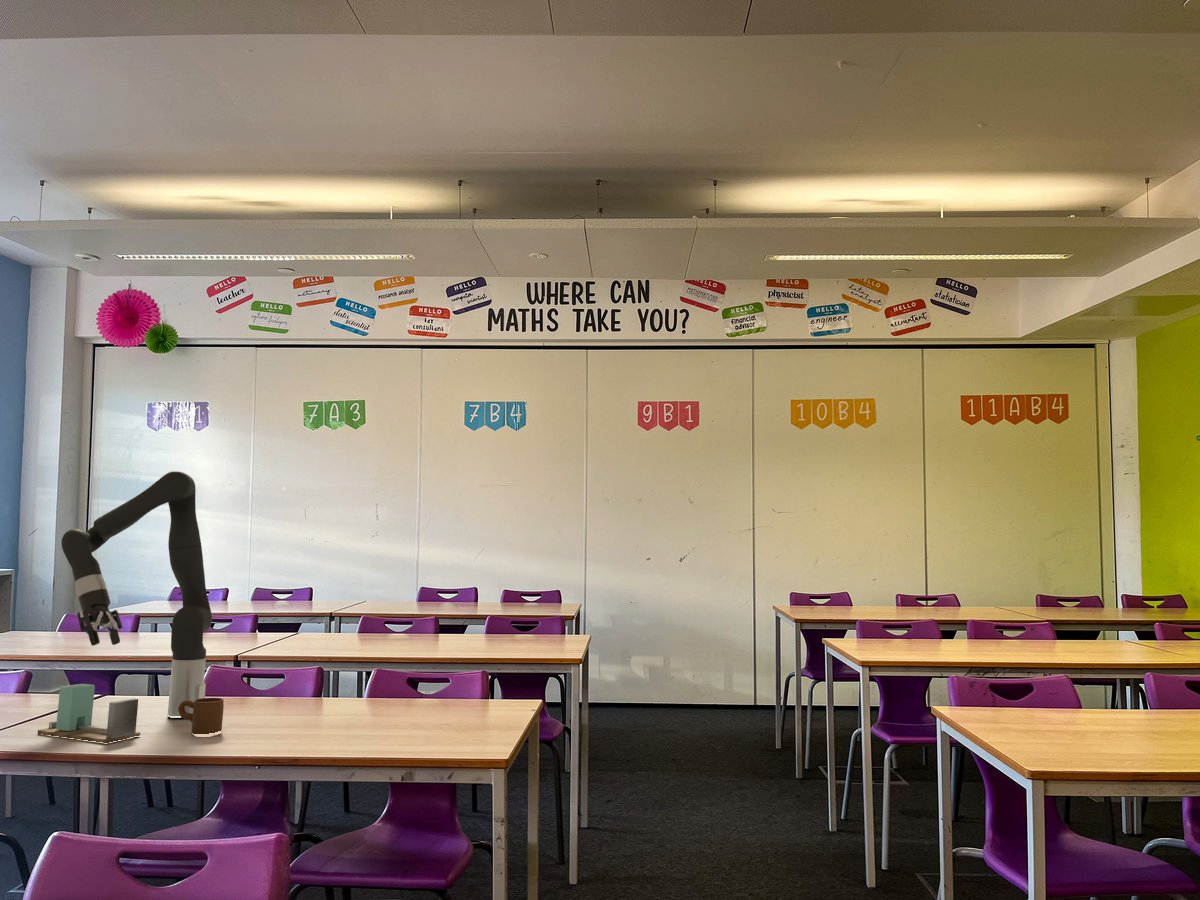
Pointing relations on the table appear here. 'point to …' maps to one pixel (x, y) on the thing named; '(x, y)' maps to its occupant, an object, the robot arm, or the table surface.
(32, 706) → the table surface
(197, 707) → the mug
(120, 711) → the rail
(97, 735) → the board
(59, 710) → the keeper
